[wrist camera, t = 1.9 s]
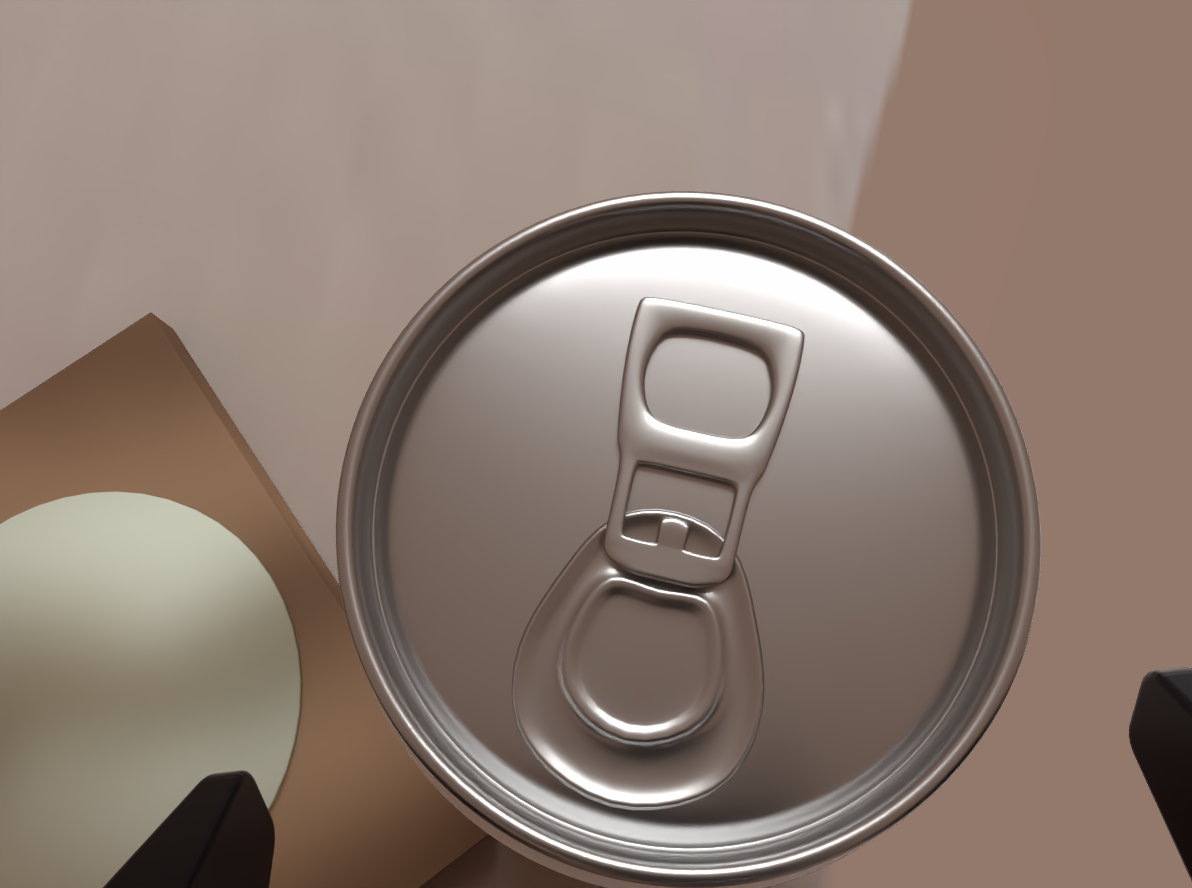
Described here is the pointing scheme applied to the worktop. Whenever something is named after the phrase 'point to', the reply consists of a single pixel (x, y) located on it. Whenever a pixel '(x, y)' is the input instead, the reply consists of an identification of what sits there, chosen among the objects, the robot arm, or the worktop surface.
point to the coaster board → (180, 643)
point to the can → (687, 542)
